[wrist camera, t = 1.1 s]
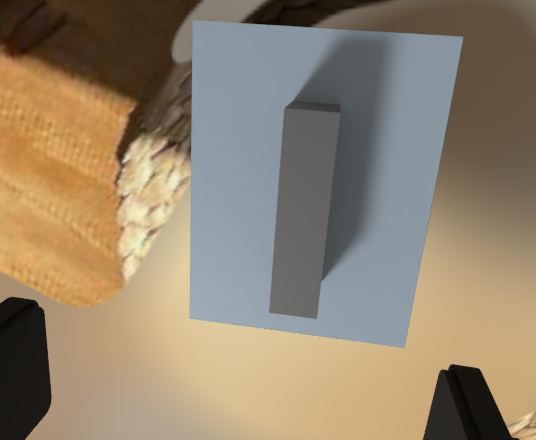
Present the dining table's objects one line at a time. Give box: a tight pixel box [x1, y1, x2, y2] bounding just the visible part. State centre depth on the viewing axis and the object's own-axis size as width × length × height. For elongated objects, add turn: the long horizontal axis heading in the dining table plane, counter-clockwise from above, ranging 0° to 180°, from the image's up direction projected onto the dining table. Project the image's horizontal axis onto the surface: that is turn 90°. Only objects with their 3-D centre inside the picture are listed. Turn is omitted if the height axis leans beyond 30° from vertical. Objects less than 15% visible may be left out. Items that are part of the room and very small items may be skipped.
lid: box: [190, 20, 463, 348], centre depth 24 cm, size 17×13×5 cm
